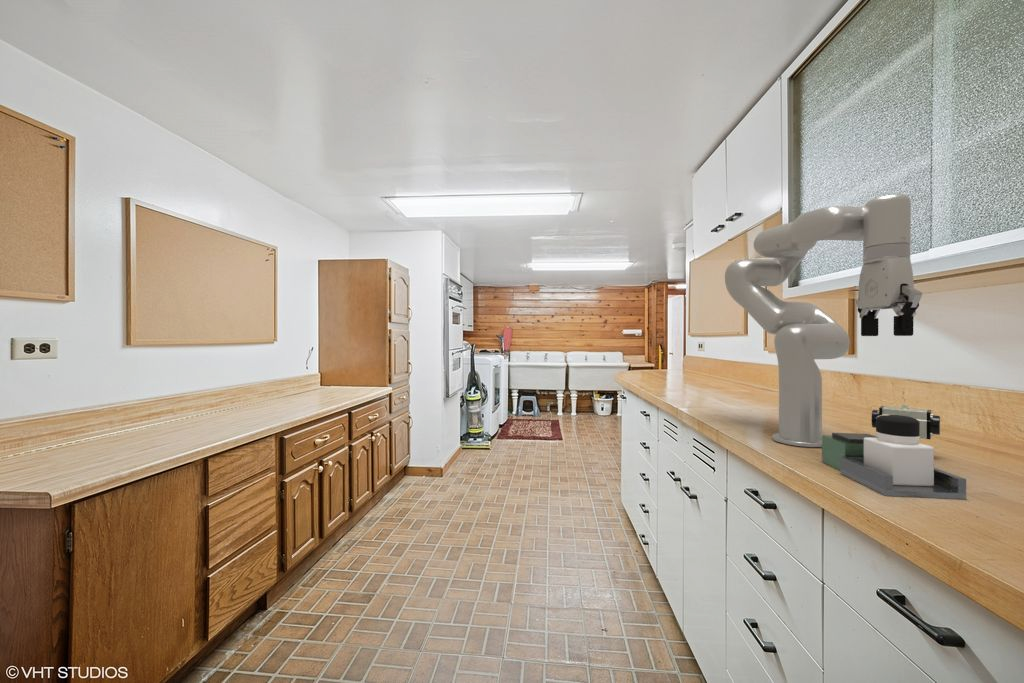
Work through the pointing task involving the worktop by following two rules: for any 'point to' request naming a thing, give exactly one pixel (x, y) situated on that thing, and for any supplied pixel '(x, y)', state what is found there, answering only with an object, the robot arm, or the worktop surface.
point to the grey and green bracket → (849, 459)
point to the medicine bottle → (900, 451)
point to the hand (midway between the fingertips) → (885, 335)
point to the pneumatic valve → (926, 419)
